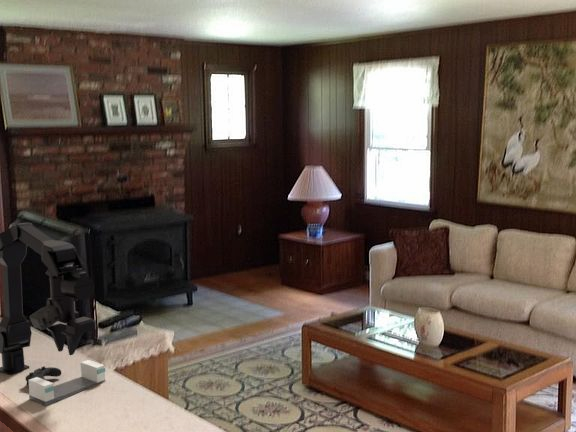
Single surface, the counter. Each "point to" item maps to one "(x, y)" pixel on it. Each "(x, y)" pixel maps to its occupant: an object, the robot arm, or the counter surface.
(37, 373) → the game controller
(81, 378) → the rail plate
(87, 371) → the mounted modules
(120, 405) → the counter surface
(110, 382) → the counter surface
